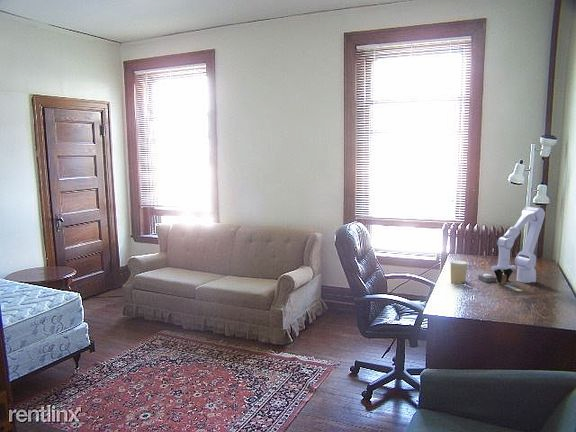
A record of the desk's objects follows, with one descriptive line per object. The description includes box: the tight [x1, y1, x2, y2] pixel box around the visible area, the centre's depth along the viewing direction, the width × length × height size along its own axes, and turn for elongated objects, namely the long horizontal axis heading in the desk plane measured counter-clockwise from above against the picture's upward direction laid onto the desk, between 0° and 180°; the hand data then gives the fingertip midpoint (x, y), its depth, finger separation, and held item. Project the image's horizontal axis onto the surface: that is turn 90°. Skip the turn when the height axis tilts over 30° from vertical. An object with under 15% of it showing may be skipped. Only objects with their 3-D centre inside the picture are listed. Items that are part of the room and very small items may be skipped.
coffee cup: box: [449, 259, 468, 285], centre depth 258 cm, size 9×9×12 cm
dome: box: [482, 273, 493, 278], centre depth 257 cm, size 5×5×3 cm
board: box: [477, 274, 523, 292], centre depth 250 cm, size 19×25×4 cm
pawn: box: [498, 274, 507, 286], centre depth 251 cm, size 4×4×5 cm
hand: (502, 282), depth 251 cm, fingers closed on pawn, 4 cm apart
